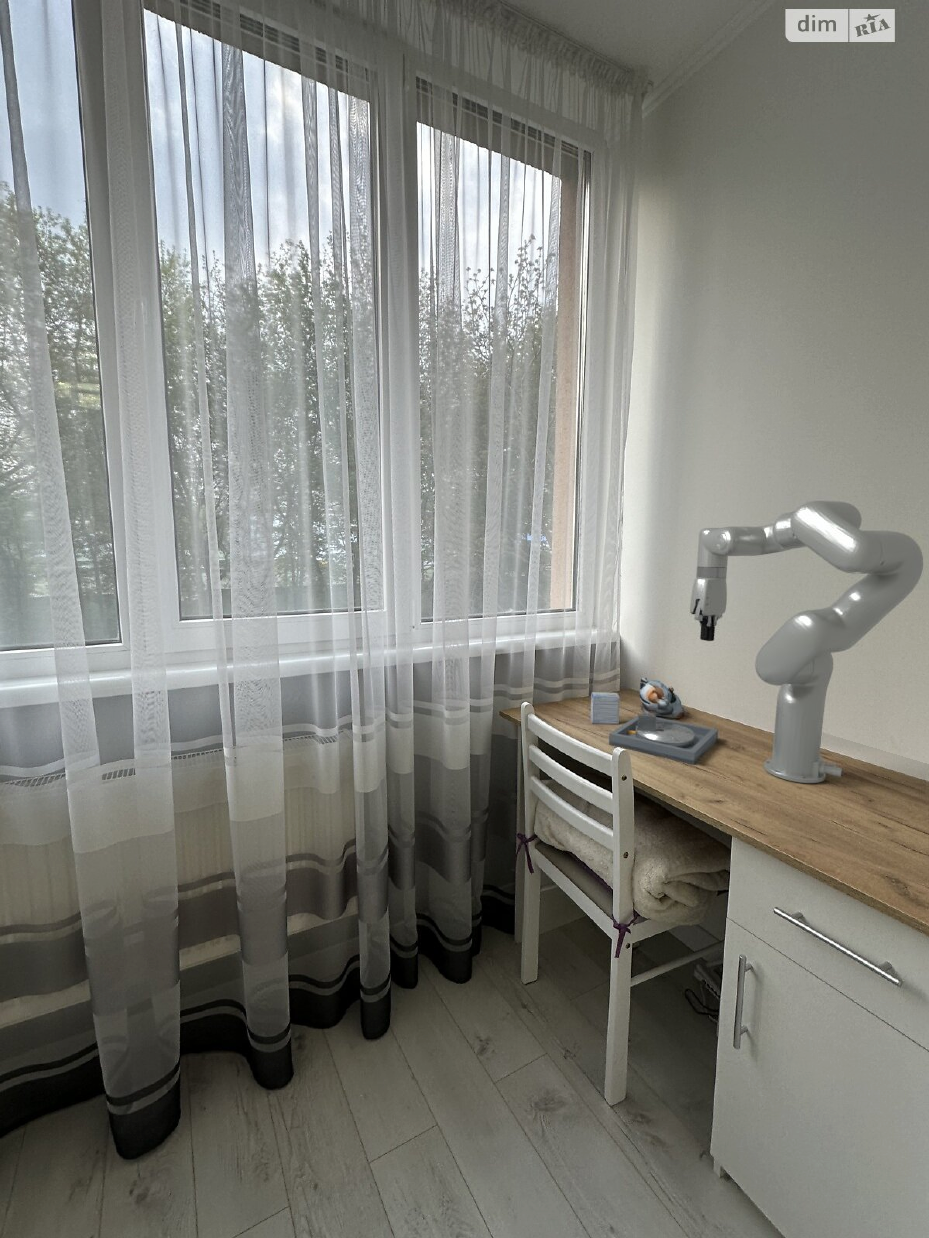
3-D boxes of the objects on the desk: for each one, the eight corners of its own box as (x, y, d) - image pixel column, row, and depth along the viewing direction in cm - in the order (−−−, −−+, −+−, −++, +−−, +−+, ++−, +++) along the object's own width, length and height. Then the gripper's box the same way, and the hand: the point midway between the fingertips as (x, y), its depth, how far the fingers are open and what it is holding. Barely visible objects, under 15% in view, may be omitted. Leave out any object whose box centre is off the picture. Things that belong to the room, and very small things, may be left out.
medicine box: (616, 720, 172) (617, 692, 170) (618, 724, 167) (620, 696, 166) (590, 719, 172) (591, 691, 171) (591, 723, 168) (592, 695, 167)
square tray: (717, 739, 155) (718, 729, 154) (693, 764, 138) (694, 753, 137) (639, 723, 168) (640, 714, 168) (608, 744, 151) (609, 733, 151)
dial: (687, 730, 159) (688, 709, 158) (700, 749, 144) (701, 726, 143) (632, 726, 161) (633, 706, 160) (639, 745, 147) (640, 723, 146)
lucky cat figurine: (693, 719, 172) (686, 684, 166) (657, 735, 172) (648, 700, 166) (668, 693, 185) (660, 660, 179) (635, 707, 185) (626, 675, 179)
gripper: (715, 572, 160) (711, 635, 163) (681, 573, 152) (677, 640, 155) (740, 573, 154) (735, 639, 156) (706, 575, 146) (702, 644, 148)
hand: (707, 640), depth 156 cm, fingers closed
